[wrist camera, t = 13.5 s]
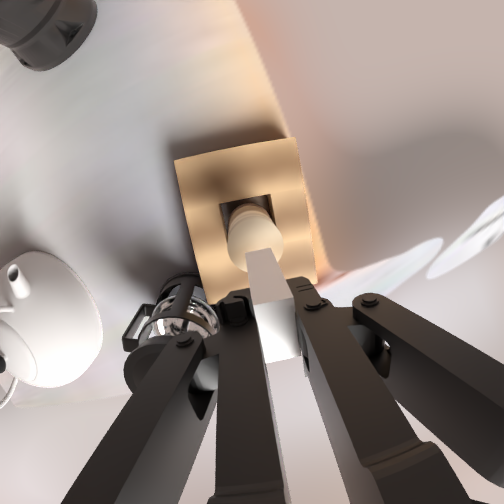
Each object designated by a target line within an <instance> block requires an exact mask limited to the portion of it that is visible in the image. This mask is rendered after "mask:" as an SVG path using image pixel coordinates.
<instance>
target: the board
mask: <svg viewBox="0 0 504 504" xmlns="http://www.w3.org/2000/svg"><path fill="white" fill-rule="evenodd" d="M174 164H175V169H176V174H177V179H178V184H179V188H180V193H181V198H182V202H183V207H184V211H185V215H186V220H187V224H188V228H189V233H190V237H191V241H192V245H193V249H194V253H195V257H196V261H197V265H198V269H199V273H200V277H201V280H202V284H203V288H204V292H205V295H206V299H207V302H208V305H211V304H217V302H218V301H219V300H221V299H222V298H224V297H226V296H227V295H228V293H229V292H230V291H234V290H240V289H245V288H250V286H249V279H248V272H245V271H243V270H241V269H239V268H238V267H237V266H235V265H234V263H233V262H232V261H231V259H230V257H229V254H228V250H227V242H228V235H227V230H226V226H225V221H224V216H223V212H222V207H221V203H225V202H230V201H235V200H240V199H245V198H250V197H255V196H261V195H266V194H267V196H268V201H269V207H270V212H271V218H272V222H273V223H274V224H275V226H276V227H277V228H278V230H279V231H280V233H281V235H282V238H283V243H284V248H283V253H282V256H281V258H280V260H279V261H278V264H279V267H280V269H281V271H282V273H283V275H284V277H285V279H290V278H295V277H300V276H303V277H305V278H308V279H309V280H310V282H311V283H312V284H316V283H317V275H316V266H315V258H314V250H313V243H312V235H311V228H310V221H309V214H308V208H307V201H306V195H305V189H304V183H303V177H302V171H301V165H300V159H299V154H298V149H297V143H296V138H295V137H292V138H285V139H278V140H272V141H265V142H259V143H254V144H248V145H242V146H237V147H232V148H227V149H222V150H217V151H212V152H208V153H203V154H199V155H195V156H190V157H186V158H182V159H178V160H174Z"/></svg>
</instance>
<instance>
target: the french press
mask: <svg viewBox="0 0 504 504" xmlns="http://www.w3.org/2000/svg"><path fill="white" fill-rule="evenodd" d="M178 285H180V288H179V290H178V292H177V295H174V296H171V297H169V298H168V296H169V293H170V292H171V291H172V289H173V288H175V287H176V286H178ZM195 286H198V287H201V288H203V284H202V280H201V277H200V274H197V273H182V274H178V275H176V276H173V277H172V278H170V279H169V280H168V281H167V282H166V283H165V284H164V285H163V287H162V289H161V291H160V295H159V298H158V300H157V303H156V305H153V304H142V305H141V306H140V308H139V310H138V311H137V313H136V315H135V316H134V318H133V319H132V321H131V323H130V324H129V326H128V328H127V329H126V331H125V333H124V334H123V336H122V343H123V349H124V351H126V352H131V353H130V354H129V356H128V358H127V360H126V362H125V364H124V378H125V381H126V384H127V385H128V387H129V389H130V390H131V392H132V393H134V391H135V390H136V388H137V387H138V385H139V384H140V382H141V381H142V379H143V378H144V377H145V375H146V374H147V372H148V371H149V369H150V368H151V366H152V365H153V363H154V362H155V361H156V359H157V358H158V356H159V355H160V353H161V352H162V350H163V349H164V347H165V346H166V345H167V343H168V342H169V341H170V340H171V339H172V338H173V337H174V336H176V335H178V334H179V333H182V332H189V331H193V332H198V333H200V334H201V336H202V337H203V338H206V337H209V336H211V335H214V334H216V333H217V332H219V331H220V329H221V324H220V321H219V317H218V313H217V310H216V308H215V312H214V311H213V310H212V308H211V307H210V306H209V305H208V304H207V303H205V302H204V301H203V300H201V299H199V298H197V297H195V296H192V294H193V290H194V287H195ZM203 289H204V288H203ZM215 306H216V304H215ZM145 316H150V318H149V319H148V321H147V322H146V323H145V324H144V326H143V328H142V330H141V332H140V334H139V336H138V339H132V338H133V336H134V334H135V333H136V331H137V329H138V327H139V325H140V323H141V322H142V320H143V318H144V317H145ZM152 328H153V331H154V333H155V335H156V336H154V337H152V338H149V339H148V337H149V335H150V333H151V331H152Z"/></svg>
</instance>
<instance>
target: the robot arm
mask: <svg viewBox="0 0 504 504" xmlns="http://www.w3.org/2000/svg"><path fill="white" fill-rule="evenodd" d="M96 17H97V6H96V3H95V1H94V0H0V44H1V45H4V46H6V47H8V48H10V49H11V50H12V52H13V53H14V54H15V56H16V57H17V58H18V60H19V61H20V62H21V64H22V65H23V66H25V67H27V68H29V69H32V70H34V71H45V70H49V69H51V68H54V67H56V66H57V65H59V64H61V63H62V62H64V61H65V60H66V59H67V58H69V57H70V56H71V55H72V54H73V53H74V52H75V51H76V50H77V49H78V48H79V47H80V46H81V45H82V43H83V42H84V41H85V39H86V38H87V37H88V35H89V33H90V32H91V30H92V28H93V26H94V23H95V20H96ZM245 258H246V265H247V272H248V279H249V286H250V288H245V289H240V290H234V291H230V292H229V293H228V295H227V296H226V297H224V298H222V299H221V300H219V301H218V302H217V304H216V310H217V313H218V317H219V321H220V324H221V329H220V331H219V332H217V333H216V334H214V335H211V336H209V337H206V338H203V337H202V336H201V334H200V333H198V332H193V331H189V332H182V333H179V334H178V335H176V336H174V337H173V338H172V339H171V340H170V341H169V342H168V343H167V345H166V346H165V347H164V349H163V350H162V352H161V353H160V355H159V356H158V358H157V359H156V361H155V362H154V363H153V365H152V366H151V368H150V369H149V371H148V372H147V374H146V375H145V377H144V378H143V379H142V381H141V382H140V384H139V385H138V387H137V388H136V390H135V391H134V393H133V394H132V396H131V397H130V399H129V400H128V402H127V403H126V405H125V406H124V407H123V409H122V410H121V412H120V413H119V415H118V417H117V418H116V419H115V421H114V423H113V424H112V425H111V427H110V429H109V430H108V431H107V433H106V434H105V436H104V437H103V439H102V440H101V442H100V444H99V445H98V447H97V448H96V450H95V451H94V453H93V454H92V456H91V457H90V459H89V460H88V462H87V463H86V465H85V467H84V468H83V470H82V471H81V473H80V474H79V476H78V477H77V479H76V480H75V482H74V483H73V485H72V487H71V488H70V490H69V491H68V493H67V494H66V496H65V498H64V499H63V501H62V502H61V504H178V502H179V500H180V497H181V494H182V492H183V489H184V487H185V484H186V482H187V479H188V476H189V474H190V471H191V469H192V466H193V464H194V461H195V458H196V456H197V453H198V451H199V448H200V445H201V443H202V440H203V437H204V435H205V432H206V429H207V427H208V424H209V421H210V419H211V416H212V413H213V411H214V408H215V405H216V403H217V425H216V472H215V476H216V477H215V478H216V479H215V493H214V495H213V496H211V497H210V498H209V499H208V502H207V504H291V499H290V494H289V488H288V483H287V478H286V472H285V467H284V461H283V456H282V450H281V445H280V439H279V434H278V429H277V423H276V417H275V412H274V406H273V401H272V395H271V389H270V384H269V378H268V373H267V368H266V363H269V362H274V361H279V360H284V359H289V358H293V357H297V356H301V351H302V355H303V363H304V372H305V377H307V376H308V378H309V381H310V383H311V386H312V389H313V392H314V395H315V398H316V401H317V404H318V407H319V410H320V413H321V416H322V419H323V422H324V425H325V428H326V431H327V434H328V436H329V440H330V442H331V445H332V448H333V452H334V454H335V458H336V461H337V464H338V467H339V470H340V473H341V476H342V479H343V482H344V485H345V488H346V491H347V494H348V497H349V501H350V504H488V503H484V502H480V501H475V500H472V499H470V498H469V496H468V495H467V493H466V491H465V489H464V488H463V486H462V484H461V483H460V481H459V479H458V477H457V476H456V474H455V472H454V471H453V469H452V467H451V466H450V464H449V462H448V461H447V459H446V457H445V456H444V454H443V452H442V451H441V450H440V449H439V447H438V446H437V445H436V444H435V443H433V442H431V441H429V442H422V441H420V440H419V438H418V437H417V435H416V434H415V432H414V430H413V429H412V427H411V425H410V424H409V422H408V420H407V419H406V417H405V416H404V414H403V412H402V411H401V409H400V407H399V406H398V404H397V402H396V401H398V402H399V403H400V404H401V405H402V406H403V407H404V408H405V409H406V410H407V411H408V412H410V413H411V414H412V415H413V416H414V417H415V418H416V419H417V420H419V421H420V422H421V423H422V424H423V425H424V426H425V427H426V428H427V429H429V430H430V431H431V432H432V433H433V434H434V435H435V436H436V437H437V438H439V439H440V440H441V441H442V442H443V443H444V444H445V445H446V446H448V447H449V448H450V449H451V450H452V451H454V453H456V454H457V455H458V456H459V457H460V458H461V459H462V460H464V461H465V462H466V463H467V464H468V465H469V466H470V467H471V468H473V469H474V470H475V471H476V472H477V473H479V474H480V475H481V476H483V477H484V478H485V479H487V480H488V481H490V482H492V483H494V484H496V485H497V486H499V487H502V488H504V364H502V363H500V362H498V361H497V360H495V359H493V358H492V357H490V356H488V355H487V354H485V353H483V352H481V351H480V350H478V349H477V348H475V347H473V346H471V345H470V344H468V343H466V342H464V341H463V340H461V339H459V338H457V337H456V336H454V335H452V334H451V333H449V332H447V331H445V330H444V329H442V328H440V327H438V326H437V325H435V324H433V323H431V322H429V321H428V320H426V319H424V318H422V317H421V316H419V315H417V314H415V313H413V312H412V311H410V310H408V309H406V308H404V307H403V306H401V305H399V304H397V303H395V302H393V301H392V300H390V299H388V298H386V297H384V296H382V295H380V294H375V293H365V294H362V295H359V296H357V297H355V298H354V300H353V301H352V306H353V307H334V306H333V305H332V303H331V302H330V301H329V300H328V299H325V298H321V297H320V295H319V294H318V292H317V291H316V289H315V288H314V286H313V285H312V283H311V282H310V280H309V279H308V278H305V277H303V276H300V277H295V278H290V279H285V277H284V275H283V273H282V271H281V269H280V267H279V264H278V262H277V260H276V258H275V256H274V254H273V252H272V249H271V248H266V249H261V250H256V251H251V252H246V253H245ZM385 341H386V342H387V343H388V344H389V346H390V347H389V346H387V345H386V344H385ZM300 348H301V349H300ZM395 400H396V401H395Z"/></svg>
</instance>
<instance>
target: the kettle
mask: <svg viewBox="0 0 504 504" xmlns="http://www.w3.org/2000/svg"><path fill="white" fill-rule="evenodd" d="M102 341H103V329H102V322H101V318H100V314H99V311H98V308H97V306H96V304H95V301H94V299H93V297H92V295H91V294H90V292H89V290H88V289H87V287H86V286H85V284H84V283H83V281H82V280H81V279H80V278H79V277H78V275H77V274H76V273H75V272H74V271H73V270H72V269H71V268H70V267H69V266H68V265H66V264H65V263H64V262H62V261H61V260H60V259H58V258H56V257H54V256H52V255H50V254H48V253H45V252H40V251H30V252H26V253H23V254H21V255H20V256H18V257H17V258H15V259H13V260H12V261H10V262H9V263H7V264H6V265H5V266H4V267H3V268H2V269H1V270H0V373H2V372H4V371H5V370H6V371H7V372H9V373H10V374H11V375H12V376H14V379H13V382H12V384H11V387H10V389H9V391H8V393H7V394H6V396H5V397H4V398H3V400H2V401H1V402H0V409H1V408H2V407H3V406H4V405H5V404H6V403H7V402H8V400H9V399H10V397H11V396H12V394H13V392H14V389H15V387H16V384H17V382H18V379H19V380H21V381H23V382H25V383H27V384H30V385H33V386H37V387H45V388H51V387H58V386H62V385H65V384H68V383H70V382H72V381H74V380H75V379H77V378H78V377H79V376H81V375H82V374H83V373H84V372H85V371H86V370H87V368H88V367H89V366H90V365H91V363H92V362H93V360H94V359H95V358H96V357H97V355H98V354H99V352H100V349H101V346H102Z"/></svg>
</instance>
